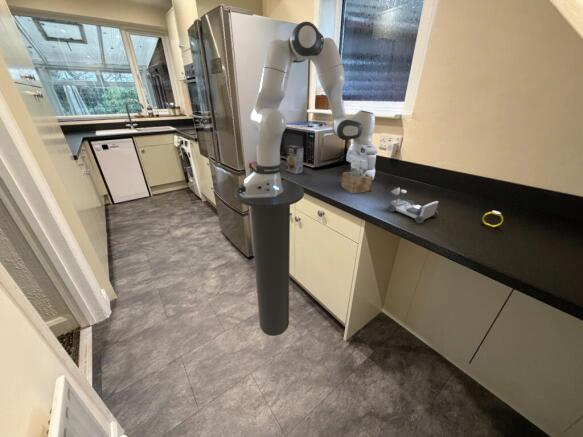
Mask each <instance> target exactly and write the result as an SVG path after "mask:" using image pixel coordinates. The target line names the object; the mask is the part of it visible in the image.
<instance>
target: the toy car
mask: <svg viewBox="0 0 583 437" xmlns="http://www.w3.org/2000/svg"><path fill="white" fill-rule="evenodd" d="M407 192H408V191H407V190H405V189H401V188H400V187H395V186H393V190H391V191H390V193H392V194H393V195H395V196H396V199H395V200H392V201H390V204H389V206H388V210H389V211H390V212H391V213H392V212H395V211H397V212H398V213H400V214H403V215H406V216H408V217H411V218H413V219H414V220H415V223H417V224H423V223H424V221H425V220H426V219H428V218H431V217H433V218H435V217H437V216H438V215H439V211H438V210H437V209H438V205H439V201H438V200H435V201H432V202H429V203H426V204H424V205H419V204H415V202H414V200H410V199H408V198H407V199H404V200H403V198H404V195H405V194H407ZM400 193H402V194H401V198H399V195H400Z"/></svg>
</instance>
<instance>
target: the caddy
mask: <svg viewBox="0 0 583 437" xmlns="http://www.w3.org/2000/svg"><path fill="white" fill-rule="evenodd" d="M373 181H374V180H373V177H372V176H370V175H368V174H366V173H365V177H362V178H353V177H351V176H350V171H345V172H342V177H341V185H340V186H341V187H342V189H344V190H346V191H347V192H349V193H351V194H359V193H360V194H361V193H367V192H371V190H372V184H373Z"/></svg>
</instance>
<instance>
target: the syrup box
mask: <svg viewBox="0 0 583 437" xmlns="http://www.w3.org/2000/svg"><path fill="white" fill-rule="evenodd" d="M360 163H361V160H359V159H357V158H355V157H354V158H352V163H350V171H349V172H350V176H351V177H353V178H362V177H361V176H360V173H361V172H362V168H361V167H360ZM363 177H365V174H364V176H363Z"/></svg>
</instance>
